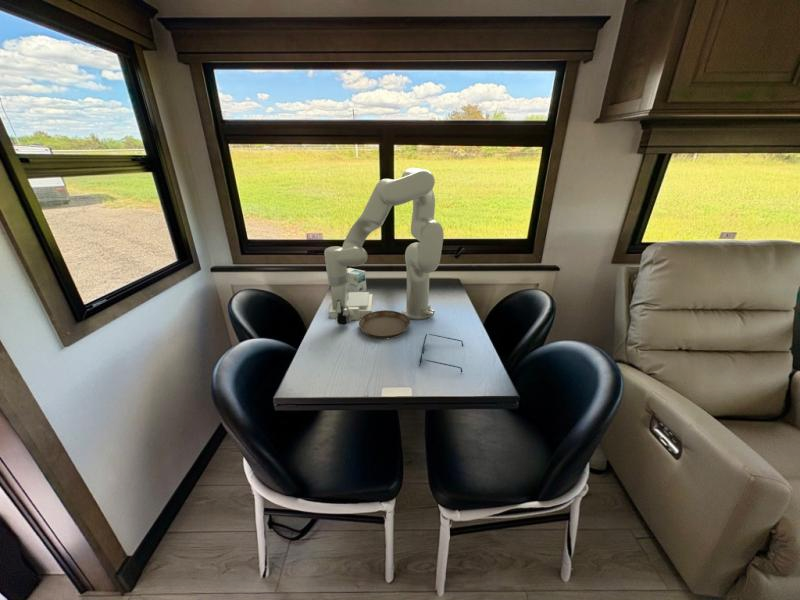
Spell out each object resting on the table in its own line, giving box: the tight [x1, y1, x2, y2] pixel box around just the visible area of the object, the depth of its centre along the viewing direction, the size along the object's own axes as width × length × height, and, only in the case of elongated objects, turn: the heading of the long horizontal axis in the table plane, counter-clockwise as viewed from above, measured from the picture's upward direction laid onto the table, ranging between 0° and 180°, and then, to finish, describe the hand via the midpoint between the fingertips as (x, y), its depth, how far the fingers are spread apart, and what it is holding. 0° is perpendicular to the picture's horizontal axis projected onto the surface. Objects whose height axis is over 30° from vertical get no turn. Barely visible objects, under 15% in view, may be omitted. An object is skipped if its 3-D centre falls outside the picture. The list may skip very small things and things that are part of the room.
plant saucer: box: [358, 309, 411, 340], centre depth 134 cm, size 21×21×3 cm
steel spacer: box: [335, 306, 351, 326], centre depth 133 cm, size 5×5×6 cm
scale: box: [328, 291, 374, 321], centre depth 149 cm, size 18×21×5 cm
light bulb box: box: [346, 267, 367, 292], centre depth 169 cm, size 11×7×11 cm, turn 58°
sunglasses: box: [418, 333, 464, 373], centre depth 115 cm, size 17×15×5 cm
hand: (343, 320), depth 134 cm, fingers closed on steel spacer, 5 cm apart
